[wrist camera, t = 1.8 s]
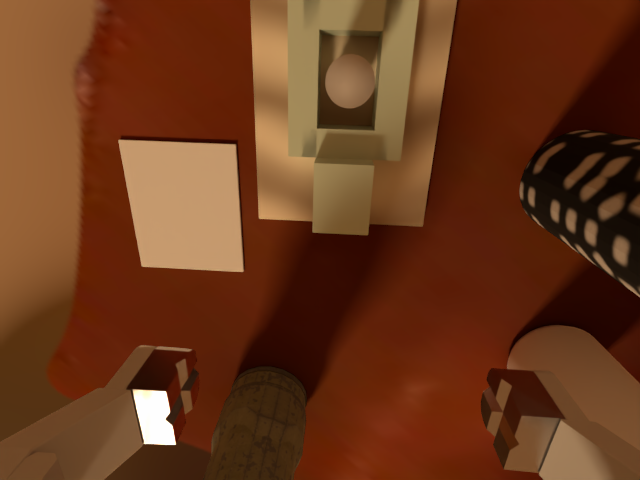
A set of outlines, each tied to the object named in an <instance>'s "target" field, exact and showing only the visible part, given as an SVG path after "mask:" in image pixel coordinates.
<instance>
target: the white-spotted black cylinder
mask: <svg viewBox="0 0 640 480" xmlns="http://www.w3.org/2000/svg"><path fill="white" fill-rule="evenodd" d="M520 200H521V203H522V206H523V208H524V210H525V212H526V213H527V215H528V216H529V217H530V218H531V219H532V220H533V221H535V222H536V223H538V224H539V225H540V226H542V227H543V228H545V229H546V230H547V231H549V232H550V233H551V234H553V235H554V236H556V237H557V238H558V239H560V240H561V241H563V242H564V243H565V244H567V245H568V246H570V247H571V248H572V249H574V250H575V251H576V252H578V253H579V254H581V255H582V256H583V257H585V258H586V259H588V260H589V261H590V262H592V263H593V264H594V265H596V266H597V267H599V268H600V269H601V270H603V271H604V272H606V273H607V274H608V275H610V276H611V277H613V278H614V279H615V280H617V281H618V282H619V283H621V284H622V285H624V286H625V287H626V288H628V289H629V290H631V291H632V292H633V293H635V294H636V295H638V296H639V297H640V139H637V138H632V137H626V136H621V135H616V134H610V133H605V132H600V131H592V130H581V131H574V132H570V133H566V134H564V135H562V136H559V137H557V138H555V139H553V140H552V141H550V142H549V143H547V144H546V145H545V146H543V147H542V148H541V149H540V150H539V151H538V152H537V153H536V154H535V155H534V157H533V158H532V159H531V160H530V162H529V163H528V165H527V167H526V169H525V170H524V173H523V176H522V179H521V184H520Z"/></svg>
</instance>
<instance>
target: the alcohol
mask: <svg viewBox="0 0 640 480" xmlns="http://www.w3.org/2000/svg"><path fill="white" fill-rule="evenodd" d="M507 369H514V370H541V371H550V372H552V373H554V374H555V376H556V377H557V378H558V380H559V381H560V382H561V384H562V385H563V386H564V388H565V389H566V390H567V392H568V393H569V394H570V396H571V397H572V398H573V400H574V401H575V402H576V404H577V405H578V406H579V408H580V409H581V410H582V412H583V413H584V414H585V416H586V417H587V418H588V420H589V421H592V422H597V423H599V424H600V425H602V426H603V427H605V428H606V429H608V430H609V431H611V432H612V433H614V434H615V435H617V436H618V437H620V438H621V439H623V440H625V441H626V442H628V443H629V444H631V445H632V446H634V447H635V448H637V449H638V450H640V384H639V382H638V381H637V380H636V379H635V378H634V377H633V376H632V375H631V374H630V373H629V372H628V371H627V370H626V369H625V368H624V367H623V366H622V365H621V364H620V363H619V362H618V361H617V360H616V359H615V358H614V357H613V356H612V355H611V354H610V353H609V352H608V351H607V350H606V349H605V348H604V347H603V346H602V345H601V344H600V343H599V342H598V341H597V340H596V339H595V338H594V337H593V336H592V335H591V334H589V333H588V332H586V331H584V330H582V329H579V328H576V327H571V326H564V325H548V326H543V327H540V328H537V329H534V330H532V331H530V332H528V333H527V334H525V335H524V336H522V337H521V338H520V339H519V340H518V341H517V342H516V343H515V345H514V346H513V348H512V350H511V352H510V355H509V358H508V364H507Z"/></svg>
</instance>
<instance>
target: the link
mask: <svg viewBox="0 0 640 480" xmlns="http://www.w3.org/2000/svg"><path fill="white" fill-rule="evenodd" d="M418 7H419V0H288V156H291V157H315V158H316V159H315V162H314V185H313V229H312V233H330V234H350V235H368V231H369V220H370V208H371V197H372V186H373V175H374V164H373V161H372V160H388V161H400V160H401V152H402V143H403V135H404V126H405V117H406V109H407V100H408V92H409V83H410V75H411V66H412V58H413V49H414V41H415V32H416V24H417V15H418ZM322 35H333V36H370V37H379V41H378V53H377V66H376V78H375V90H374V102H373V114H372V126H357V125H330V124H319V121H320V84H321V48H322Z"/></svg>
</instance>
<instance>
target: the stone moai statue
mask: <svg viewBox="0 0 640 480" xmlns="http://www.w3.org/2000/svg"><path fill="white" fill-rule="evenodd" d="M306 403H307V397H306V391H305V389H304V387H303V385H302V383H301V382H300V381H299V380H298V379H297V378H296V377H295V376H294V375H292V374H291V373H289V372H287V371H285V370H283V369H279V368H275V367H267V366H259V367H255V368H251V369H248V370H246V371H245V372H243V373H242V374H240V375H239V376H238V377H237V379H236V380H235V381H234V383H233V386H232V390H231V393H230V395H229V397H228V398H227V399H226V401H225V403H224V406H223V409H222V411H221V414H220V417H219V420H218V422H217V425H216V428H215V430H214V433H213V438H212V442H211V443H212V456H211V459H210V461H209V464H208V467H207V470H206V473H205V475H204V478H203V480H293V479H294V472H295V470H296V468H297V466H298V464H299V461H300V459H301V456H302V452H303V443H304V434H305V424H306V415H305V407H306Z"/></svg>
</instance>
